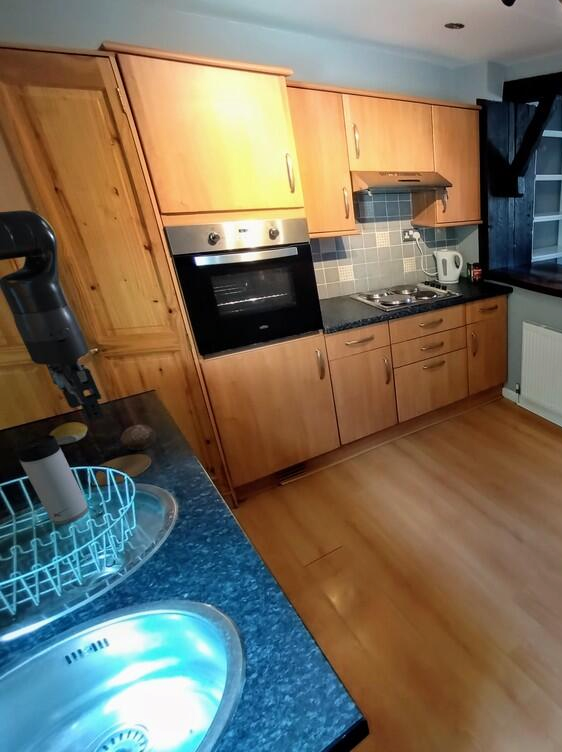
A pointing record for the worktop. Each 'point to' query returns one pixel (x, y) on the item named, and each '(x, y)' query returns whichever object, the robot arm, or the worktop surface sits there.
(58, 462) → the travel mug
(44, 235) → the robot arm
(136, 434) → the mushroom
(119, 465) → the cork coaster
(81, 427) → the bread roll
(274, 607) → the worktop surface
